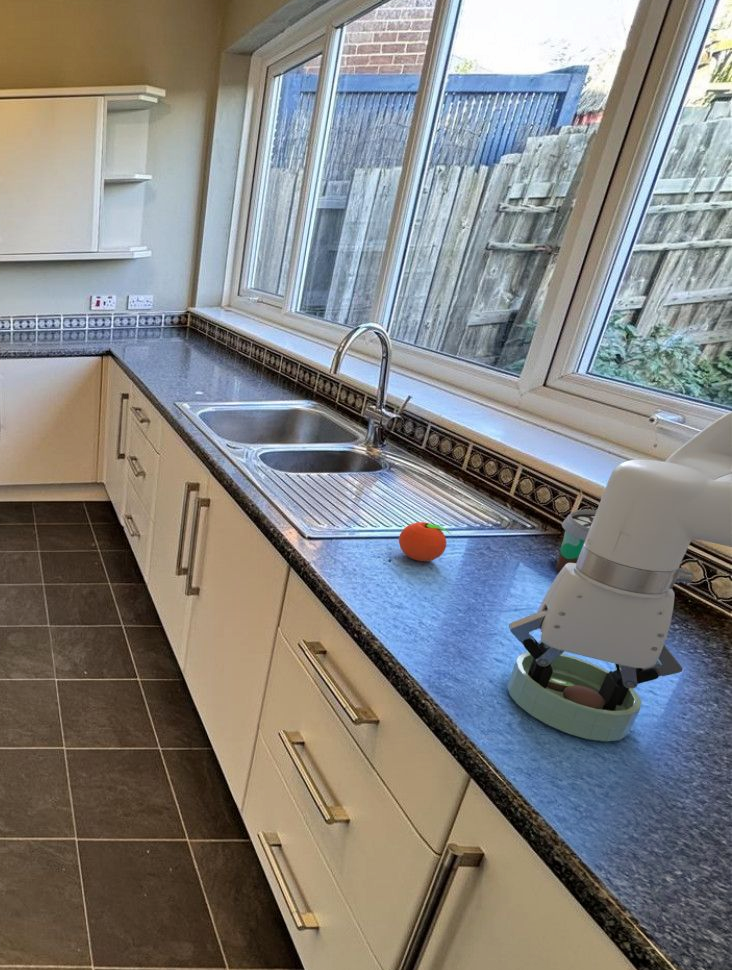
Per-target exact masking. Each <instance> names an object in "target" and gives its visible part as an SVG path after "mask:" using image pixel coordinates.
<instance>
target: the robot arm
mask: <svg viewBox="0 0 732 970" xmlns="http://www.w3.org/2000/svg"><path fill="white" fill-rule="evenodd" d="M602 493H603V494H602V496H601V497H600V501H599V503H598V507H597V509H596V510H597V511H596V514H595V516H594V519H593V522H592V524H591V527H590V529H589V532H588V534H587V537H586V540H585V542H584V545H583V547H582V550H581V552H580V555H579V558H578V560H577V563H567V564H566V565H565V566H564V567H563V568H562V570H561V571H560V572H558V573H557V575H556V576H555V578H554V580H553V581H552V583H551V584H550V586H549V587H548V589H547V591H546V594H545V595H544V597H543V599H542V601H541V603H540V605H539V606H538V609H537V612H535V613H533V614H530V615H528V616H525V617H522V618H520V619H517V620H515V621H512V622H510V623H509V624H508V627H509V631H510V633H511V634H512V635H513V636H514V637H515V638H516V640H518V641H519V642H520V643H521V644H522V645H523V648H524V649H525V650H526V652H529V653H530V654H531V655H532V657H533V658H534V659H533V661H532V664H531V666H530V669H529V672H528V675H529V676H530V677H531V678H532V679H533V680H534V681H535V682H537V683H538V684H539V685H541V686H542V687H543V688H545V689H546V687H547V685H548V682H549V680H550V677H551V675H552V672H553V669H552V666H551V663H552V662H553V661H554V660H555V659H556V658H557V657H559V656H560V655H561V654H564V653H565V652H566V653H570V654H574V655H577V656H581V657H586V658H589V659H595V660H598V661H603V662H606V663H612V664H614V669H615V670H613V671H612V670H610V671H609V673H607V675H606V677H605V679H604V681H603V684H602V686H601V688H600V690H599V694H600V695H601V696H602V698H603V699H604V700H605V701H606V705H605V706H603V707H602V708H603V710H609V711H614V710H615V708H616V706H617V705H619V706H621V705H622V703H623V701H624V699H625V697H626V694H627V692H628V690H629V688H630V689H632V688H633V689H635V688H637V687H638V685H639V684H643V683H646V682H650V681H654V680H657V679H658V678H659V677H667V676H670V675H676V674H680V673H682V672H683V667H682V666H681V664H680V663H679V661H678V660H677V658H676V657H675V656H674V654H673V653H672V652H671V651H670V649H668V647H667V646H666V645H665V643H666V640H667V637H668V634H669V631H670V627H671V623H672V618H673V612H674V605H675V591H674V590H673V587H674V585H675V584H676V583H686V584H691V583H692V582H693V581H694V577H695V576H694V572H693V571H691V570H686V569H684V568H681V567H680V566H681V564H682V562H683V559H684V557H685V555H686V553H687V551H688V549H689V546H690V544H691V542H692V541H703V542H707V543H711V544H712V543H713V544H715V545H716V544H717V545H721V546H724V547H730V548H732V411H730V412H728V413H726V414H724V415H723V416H721V417H719V418H717V419H716V420H715V421H713V422H711V423H709V425H707V426H706V427H705V428H703V429H702V430H701V431H700V432H698V433H697V434H695V435H694V436H693V437H692V438H690V439H689V440H688V441H686V442H685V443H684V444H683V445H681V446H680V447H679V448H678V449H676V450H675V451H673V453H672V454H671V455H670V456H669V457H668V458H667V459H665V461H661V460H654V459H631V460H626V461H623V462H621V463H619V464H618V465H617V466H615V467H614V469H612V472H611V473H610V475H609V478H608V480H607V483H606V486H605V488H604V491H603V492H602ZM536 630H540V632H541V635H540V640H537V639H535V637H534V636H533V635H532V634H531V632H534V631H536Z"/></svg>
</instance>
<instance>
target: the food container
mask: <svg viewBox="0 0 732 970" xmlns="http://www.w3.org/2000/svg"><path fill="white" fill-rule="evenodd" d="M596 511H597V509H578V510H573V511H572V512H571V513H570V514H568V515H567V516H566V518H564V520H563V521H562V523H561V527H562V528H563V530H564V535H563V539H562V543H561V546H560V550H559V554H558V558H557V562H556V565H555V569H556V571H557V572H558V573H559V572H560V571H561V570H562V568H563V567H564V566H565V565H566V564H567V563H577V560H578V558H579V555H580V552H581V550H582V547H583V545H584V542H585V540H586V537H587V534H588V532H589V529H590V527H591V524H592V522H593V519H594V516H595V514H596Z"/></svg>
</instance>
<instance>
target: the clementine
mask: <svg viewBox="0 0 732 970" xmlns="http://www.w3.org/2000/svg"><path fill="white" fill-rule="evenodd" d="M443 531H445V532H446V533H448V534H451V532H450V531H449V530H447V529H446V528H445V527H443V526H441V525H438V524H437V525H436V524H433V523H430V522H426V521H425V522H424V521H419V522H414V523H410V524H409V525H407V526H405V527H404V528H403V529H402V530H401V531H400V534H399V536H398V544H399V548H400V549H401V551H402V552H403V554H404V555H406V556H407V557H408V558H410V559H412V560H414V561H418V562H431V561H434V560H436V559H438V558H440V557H441V556H442V555H444V553H445V550H446V549H447V539H446V536H445V534H444V532H443ZM451 536H452V540H453V541H455V540H454V536H453V535H451Z"/></svg>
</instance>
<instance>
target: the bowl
mask: <svg viewBox="0 0 732 970" xmlns="http://www.w3.org/2000/svg"><path fill="white" fill-rule="evenodd" d="M533 659H534V658H533V657H532V655H531V654H530V653H529V652H528V651H526V652H523V653H521V654H519V655H518V656H517V658H516V661H515V662H514V663H515V664H514V666H513V669H512V671H511V673H510V677H509V679H508V682H507V685H506V687H507V691H508V694H509V696H510V697H511V699H512V700H513V701H514V702H515V703H516V705H518V706H519V707H520V708H521V709H523V710H524V712H526V713H527V714H529V715H530V716H531V717H533V718H535V719H536V720H538V721H540V722H541V723H544V724H546V725H547V726H550V727H552V728H554V729H556V730H558V731H561V732H563V733H566V734H568V735H571V736H574V737H578V738H582V739H584V740H585V739H586V740H592V741H600V742H615V741H620V740H622V739H623V738H625V737H627V736H628V735H629V734H630V731H631V729H632V727H633V725H634V723H635V721H636V719H637V717H638V714H639V712H640V710H641V708H642V703H643V702H642V699H641V698H640V696H639V694H638V692H637V691H636V690H635V688H632V689H630V688H629V690H628V692H627V694H626V697H625V699H624V701H623V703H622V705H621V706H619V705H617V706H616V708H615V710H614V711H609V710H603V708H601V709H595V708H591V707H588V706H584V705H580V704H577V703H575V702H572V701H570V700H567V699H565V698H564V696H563V692H559V691H555V690H552V689H550V688H548V687H546V689H545V688H543V687H542V686H541V685H539V684H538V683H537V682H535V681H534V680H533V679H532V678H531V677H530V676H529V675H528V672H529V669H530V666H531V664H532V661H533ZM551 666H552V669H553V672H552V675H551V677H554V678H559V679H562V680H565V681H568V682H570V683H573V684H575V685H578V686H584V687H587V688H590V689H592V690H594V691H596V692H597V693H599V690H600V688H601V686H602V684H603V681H604V679H605V677H606V675H607V673H609V672H610V671H609V670H607V669H605V668H603V667H601V666H599V665H598V664H597V665H596V664H594V663H592V662H590V661H587V660H584V659H581V658H578V657H576V656H573V655H568V654H564V653H562V654H561V655H560V656H559V657H557V658H556V659H555V660H554V661H553V662H552V663H551Z"/></svg>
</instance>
